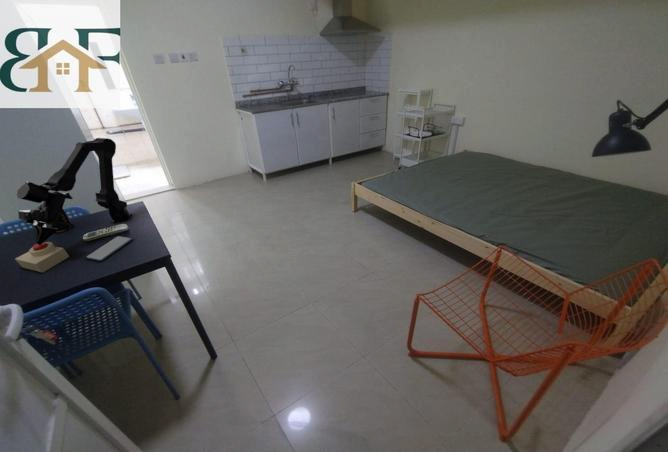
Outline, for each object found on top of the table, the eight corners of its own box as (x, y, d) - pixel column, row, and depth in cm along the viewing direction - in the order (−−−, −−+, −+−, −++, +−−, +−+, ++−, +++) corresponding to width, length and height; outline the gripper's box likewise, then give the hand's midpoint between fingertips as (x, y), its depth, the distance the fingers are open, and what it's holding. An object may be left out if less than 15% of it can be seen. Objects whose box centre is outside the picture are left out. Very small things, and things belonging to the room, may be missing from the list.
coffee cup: (56, 226, 136) (39, 202, 129) (76, 221, 139) (61, 198, 132) (49, 235, 129) (32, 211, 122) (71, 230, 132) (55, 206, 125)
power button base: (49, 252, 118) (40, 239, 115) (69, 256, 115) (60, 244, 112) (22, 267, 110) (11, 254, 107) (42, 272, 107) (32, 259, 104)
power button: (44, 245, 113) (41, 241, 112) (51, 246, 112) (48, 242, 111) (33, 251, 110) (29, 247, 109) (39, 252, 109) (36, 248, 108)
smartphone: (85, 257, 113) (117, 235, 125) (86, 258, 114) (118, 237, 125) (100, 260, 111) (132, 238, 123) (101, 262, 112) (133, 239, 123)
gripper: (10, 197, 107) (-5, 237, 104) (44, 203, 102) (28, 244, 100) (46, 206, 118) (32, 242, 115) (77, 211, 113) (64, 248, 110)
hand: (38, 244), depth 110 cm, fingers closed, pressing on power button
